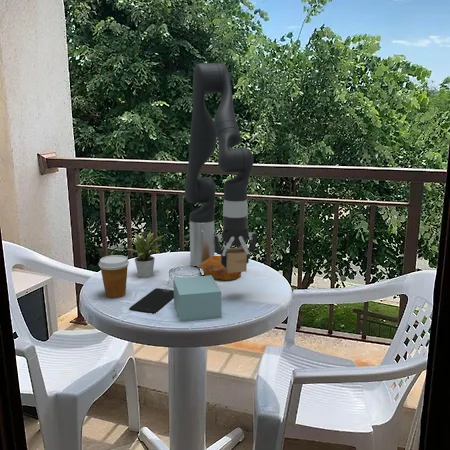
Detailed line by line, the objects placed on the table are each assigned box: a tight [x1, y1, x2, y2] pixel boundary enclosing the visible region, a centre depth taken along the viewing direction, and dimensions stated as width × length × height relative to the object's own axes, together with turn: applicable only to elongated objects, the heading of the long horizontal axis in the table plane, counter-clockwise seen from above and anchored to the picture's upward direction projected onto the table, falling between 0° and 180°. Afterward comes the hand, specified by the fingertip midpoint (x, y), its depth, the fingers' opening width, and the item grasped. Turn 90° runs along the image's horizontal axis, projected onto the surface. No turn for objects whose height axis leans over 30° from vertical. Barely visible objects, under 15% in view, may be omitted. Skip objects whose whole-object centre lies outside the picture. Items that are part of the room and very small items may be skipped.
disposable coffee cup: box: [98, 254, 130, 299], centre depth 163 cm, size 10×10×12 cm
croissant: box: [198, 255, 242, 281], centre depth 182 cm, size 14×16×8 cm
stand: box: [172, 275, 222, 322], centre depth 152 cm, size 14×12×8 cm
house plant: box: [126, 231, 165, 279], centre depth 179 cm, size 14×14×16 cm
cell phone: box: [128, 287, 174, 315], centre depth 159 cm, size 9×18×1 cm, turn 160°
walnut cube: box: [223, 246, 248, 273], centre depth 159 cm, size 6×6×6 cm
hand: (234, 265), depth 160 cm, fingers closed on walnut cube, 6 cm apart
